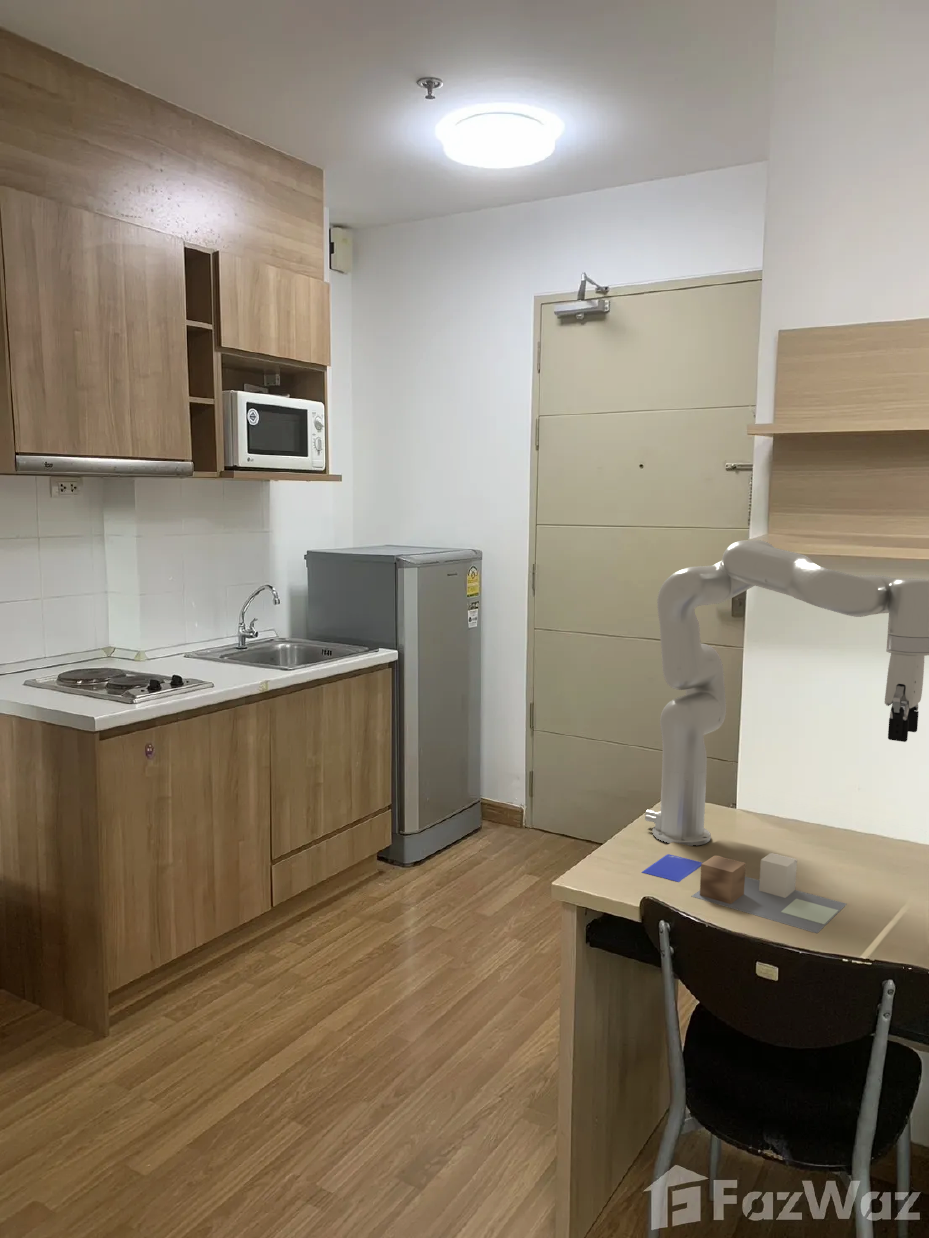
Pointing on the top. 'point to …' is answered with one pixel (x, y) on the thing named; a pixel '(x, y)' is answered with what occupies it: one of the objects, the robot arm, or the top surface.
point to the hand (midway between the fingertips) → (902, 735)
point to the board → (784, 906)
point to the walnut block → (722, 879)
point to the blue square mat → (672, 868)
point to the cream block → (778, 875)
